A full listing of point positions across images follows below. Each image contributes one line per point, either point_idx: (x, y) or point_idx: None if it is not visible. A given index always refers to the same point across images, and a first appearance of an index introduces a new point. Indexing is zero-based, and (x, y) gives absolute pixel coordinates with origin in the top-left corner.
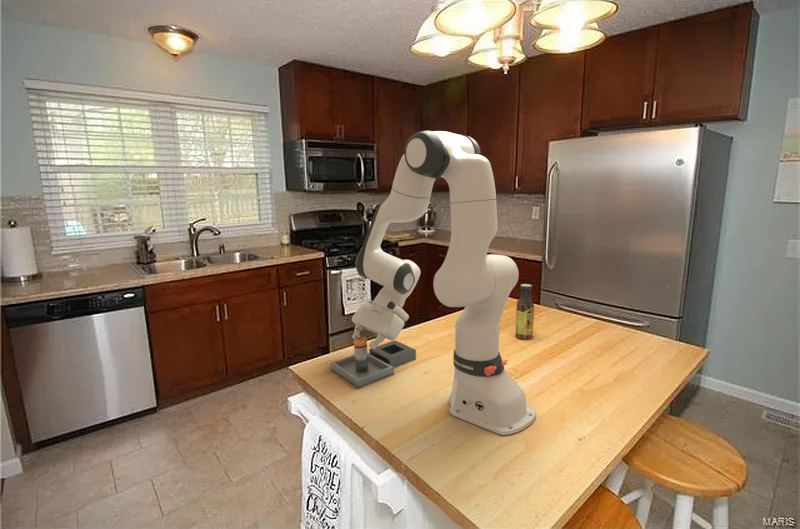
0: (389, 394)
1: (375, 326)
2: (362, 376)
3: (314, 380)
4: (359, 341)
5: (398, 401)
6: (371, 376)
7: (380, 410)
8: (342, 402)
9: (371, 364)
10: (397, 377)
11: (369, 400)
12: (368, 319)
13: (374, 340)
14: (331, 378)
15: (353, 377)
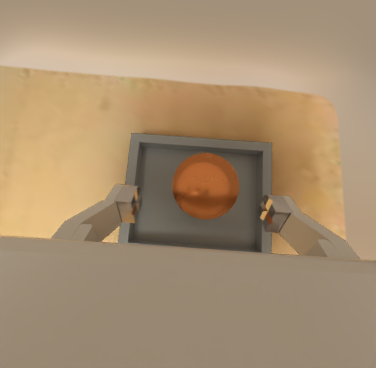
0: (67, 172)
1: (113, 273)
2: (166, 174)
3: (242, 97)
4: (189, 167)
5: (31, 166)
6: (127, 173)
7: (38, 120)
8: (120, 87)
9: (203, 235)
10: (108, 241)
11: (83, 128)
12: (277, 331)
13: (106, 205)
14: (223, 128)
15: (154, 135)
